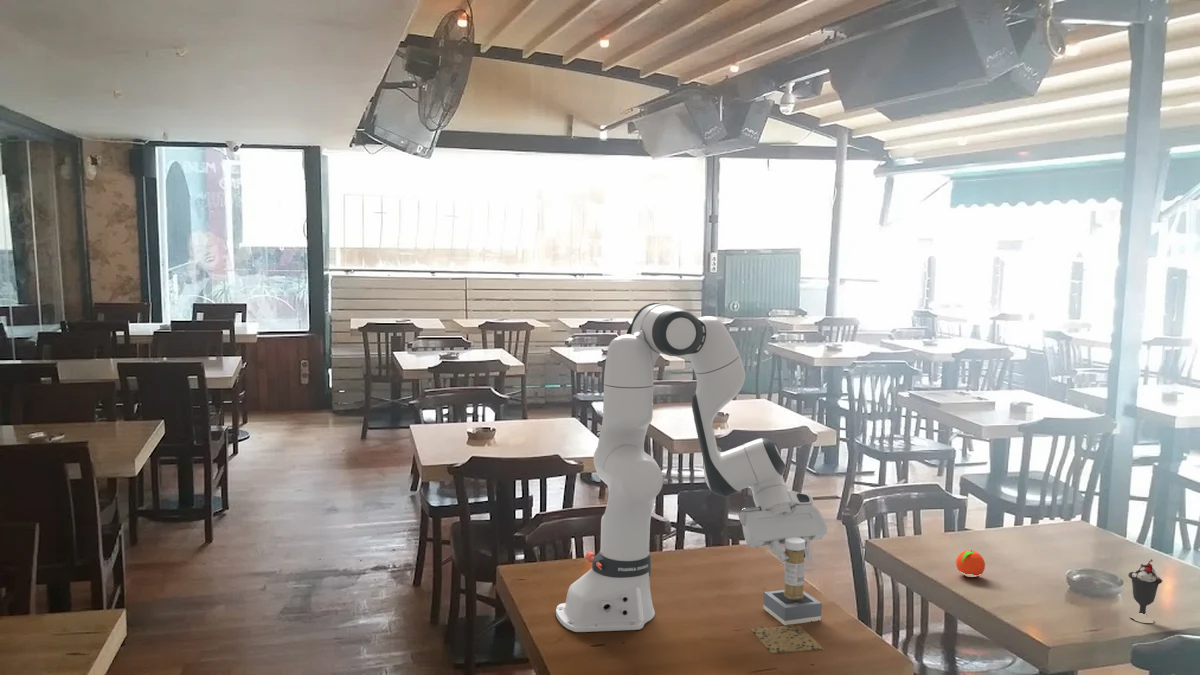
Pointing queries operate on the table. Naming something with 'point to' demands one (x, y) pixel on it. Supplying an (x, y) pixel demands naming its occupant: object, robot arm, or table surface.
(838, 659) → the table surface
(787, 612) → the block
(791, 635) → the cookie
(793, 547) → the sprinkles bottle
